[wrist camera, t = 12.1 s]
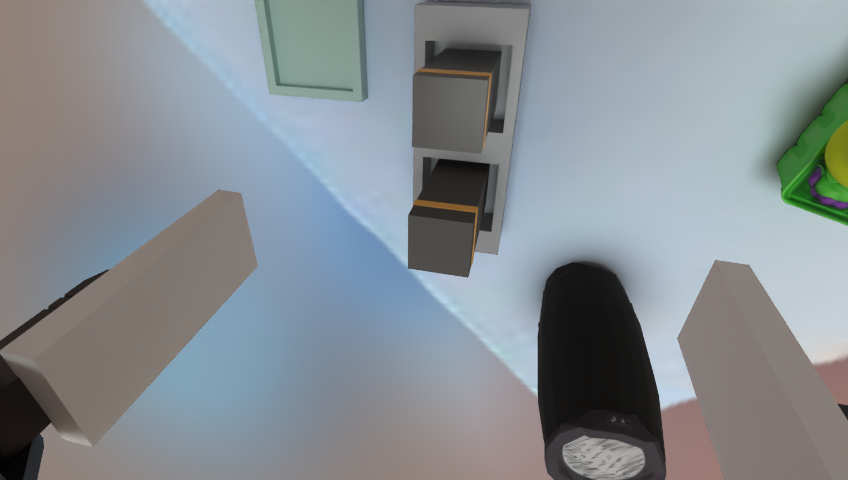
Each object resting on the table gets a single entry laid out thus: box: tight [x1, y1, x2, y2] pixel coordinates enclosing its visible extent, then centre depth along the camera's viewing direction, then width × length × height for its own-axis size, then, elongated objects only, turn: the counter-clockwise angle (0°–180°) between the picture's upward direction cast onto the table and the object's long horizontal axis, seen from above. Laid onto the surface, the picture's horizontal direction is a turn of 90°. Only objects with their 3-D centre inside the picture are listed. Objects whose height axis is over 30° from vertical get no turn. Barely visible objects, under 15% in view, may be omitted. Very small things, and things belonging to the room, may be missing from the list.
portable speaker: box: [538, 263, 666, 480], centre depth 38 cm, size 9×9×20 cm
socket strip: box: [412, 1, 531, 255], centre depth 35 cm, size 20×8×12 cm, turn 179°
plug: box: [408, 158, 490, 277], centre depth 36 cm, size 5×5×12 cm
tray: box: [255, 0, 367, 102], centre depth 37 cm, size 12×9×1 cm
